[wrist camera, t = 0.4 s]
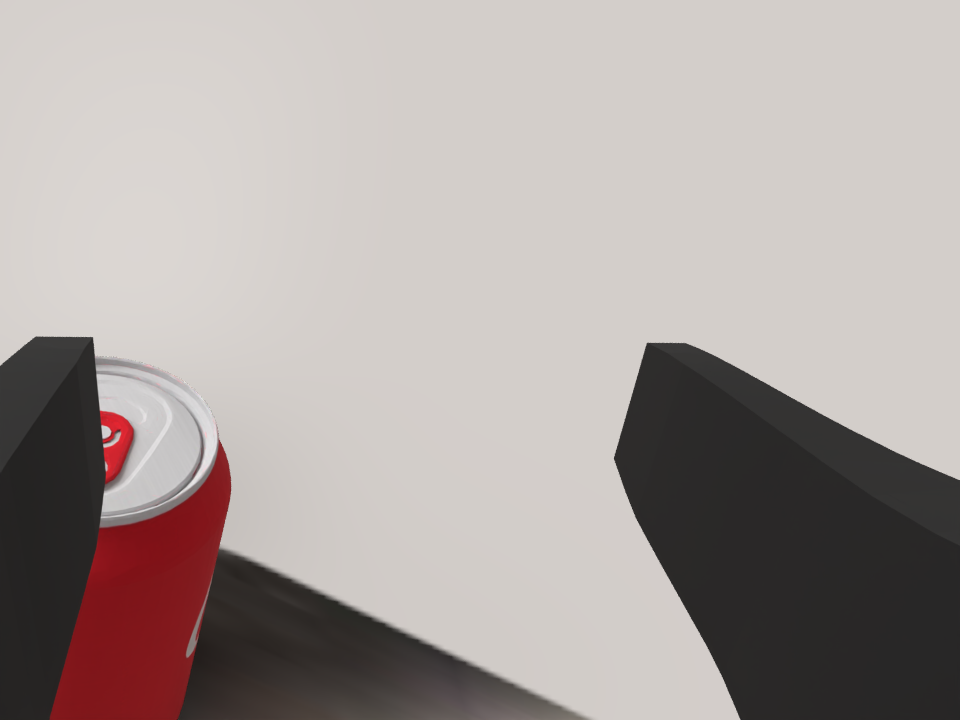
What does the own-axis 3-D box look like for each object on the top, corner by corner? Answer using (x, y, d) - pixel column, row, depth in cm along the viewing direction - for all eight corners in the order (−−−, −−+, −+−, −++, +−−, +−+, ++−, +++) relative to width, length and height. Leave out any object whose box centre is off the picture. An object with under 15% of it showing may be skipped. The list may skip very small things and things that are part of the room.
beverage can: (201, 630, 29) (263, 374, 22) (154, 818, 24) (214, 564, 17) (7, 600, 27) (9, 316, 21) (-85, 794, 23) (-123, 506, 16)
